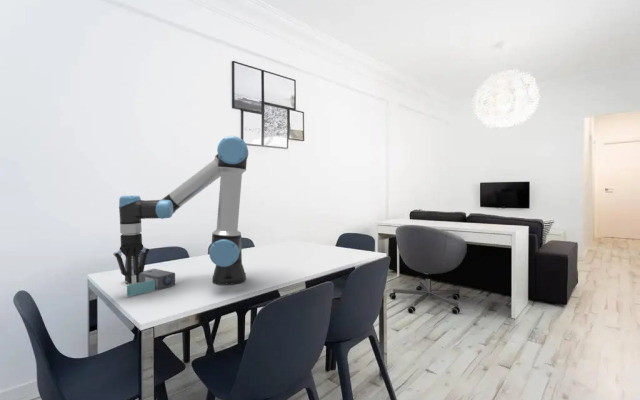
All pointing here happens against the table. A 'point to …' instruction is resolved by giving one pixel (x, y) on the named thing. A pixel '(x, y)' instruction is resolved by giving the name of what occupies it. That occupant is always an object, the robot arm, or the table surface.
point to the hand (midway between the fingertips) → (133, 290)
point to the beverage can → (132, 267)
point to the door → (142, 287)
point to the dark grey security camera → (158, 277)
